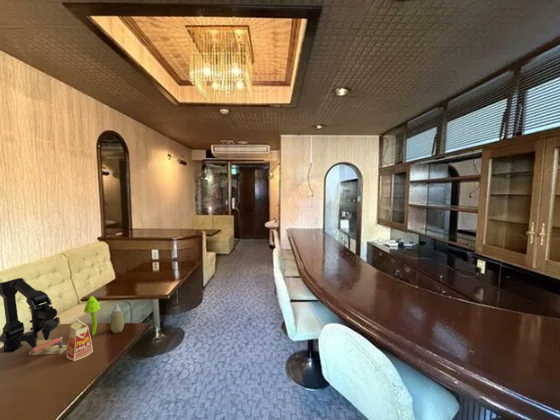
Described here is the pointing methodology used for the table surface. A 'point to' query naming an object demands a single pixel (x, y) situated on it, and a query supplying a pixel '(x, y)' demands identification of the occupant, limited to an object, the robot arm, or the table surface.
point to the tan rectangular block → (43, 343)
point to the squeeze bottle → (116, 320)
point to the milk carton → (79, 341)
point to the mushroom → (92, 311)
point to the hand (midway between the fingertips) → (40, 344)
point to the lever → (46, 344)
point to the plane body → (51, 350)
